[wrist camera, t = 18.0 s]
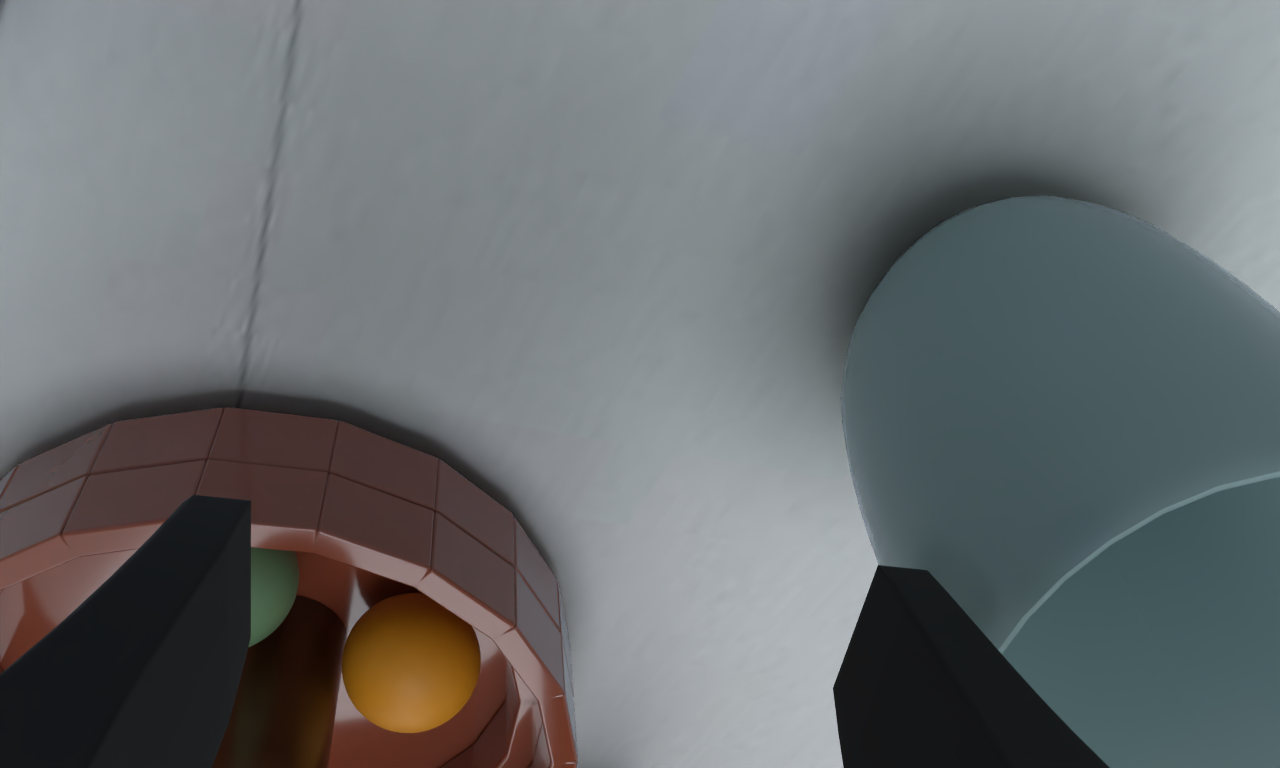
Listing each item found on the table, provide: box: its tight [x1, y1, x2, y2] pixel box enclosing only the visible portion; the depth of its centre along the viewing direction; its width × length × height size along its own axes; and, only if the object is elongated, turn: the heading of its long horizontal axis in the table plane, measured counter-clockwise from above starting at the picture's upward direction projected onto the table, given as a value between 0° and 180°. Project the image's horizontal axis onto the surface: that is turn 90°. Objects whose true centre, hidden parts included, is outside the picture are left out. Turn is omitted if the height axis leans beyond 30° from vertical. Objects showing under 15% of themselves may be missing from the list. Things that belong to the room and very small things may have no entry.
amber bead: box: [342, 593, 481, 733], centre depth 25 cm, size 3×3×3 cm
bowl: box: [0, 407, 578, 768], centre depth 26 cm, size 14×14×4 cm
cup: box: [841, 196, 1280, 768], centre depth 20 cm, size 8×8×10 cm
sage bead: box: [249, 547, 299, 647], centre depth 24 cm, size 3×3×3 cm
